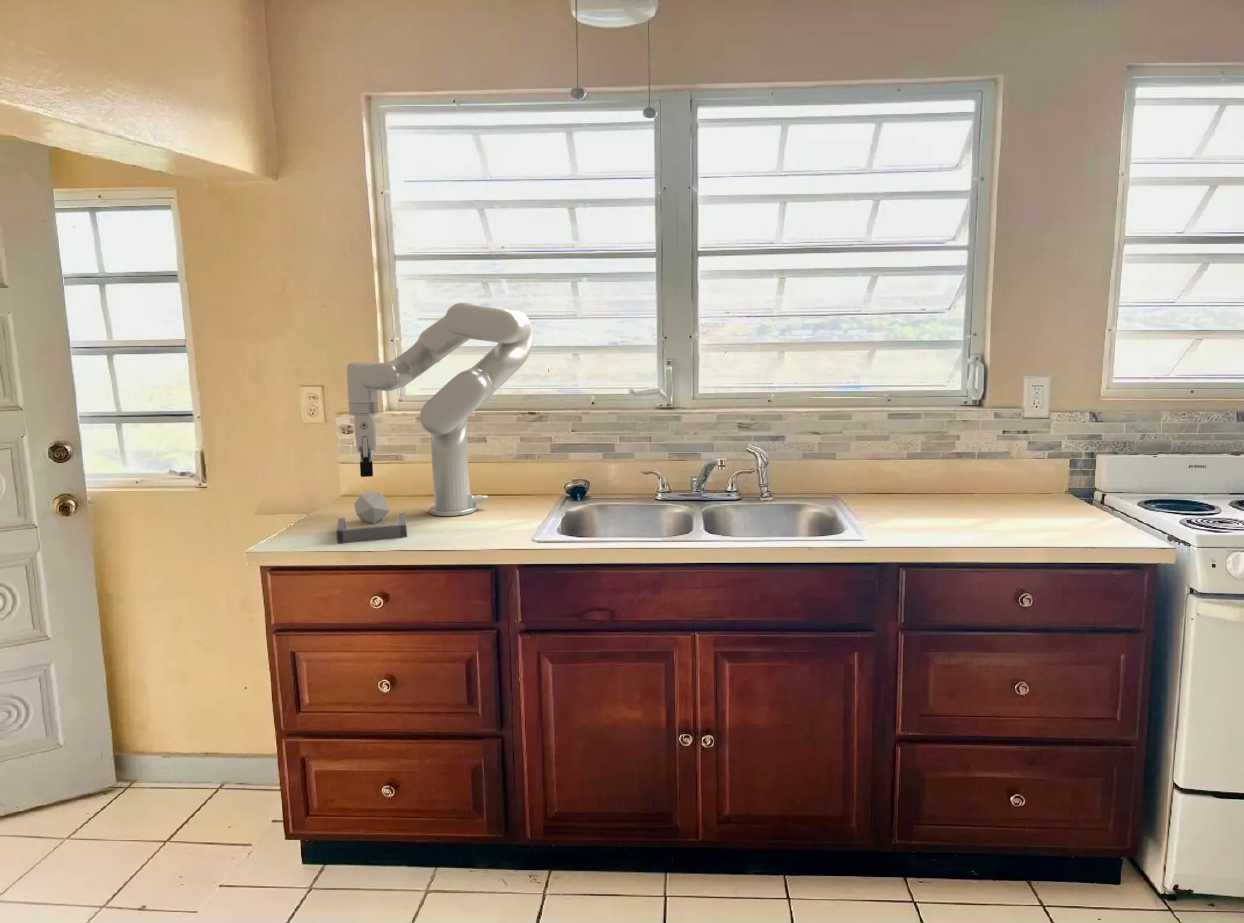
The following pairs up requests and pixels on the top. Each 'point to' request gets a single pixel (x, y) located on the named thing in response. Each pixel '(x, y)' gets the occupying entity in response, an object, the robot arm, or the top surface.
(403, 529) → the bay
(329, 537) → the top surface
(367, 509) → the die
